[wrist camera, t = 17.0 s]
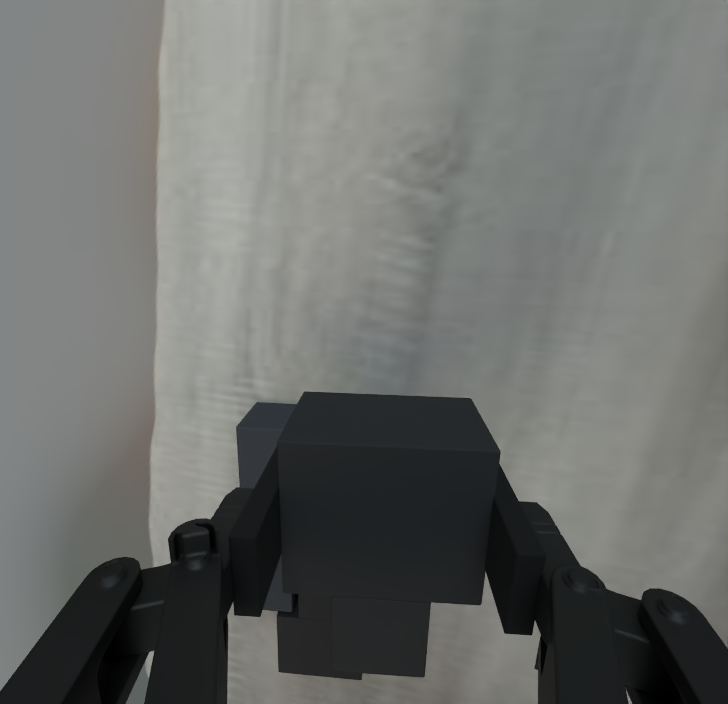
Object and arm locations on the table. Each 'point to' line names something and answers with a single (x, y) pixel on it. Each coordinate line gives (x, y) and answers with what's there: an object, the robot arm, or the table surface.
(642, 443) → the table surface
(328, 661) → the dark stepped block
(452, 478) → the dark grey t-shaped block
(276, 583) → the base tile
